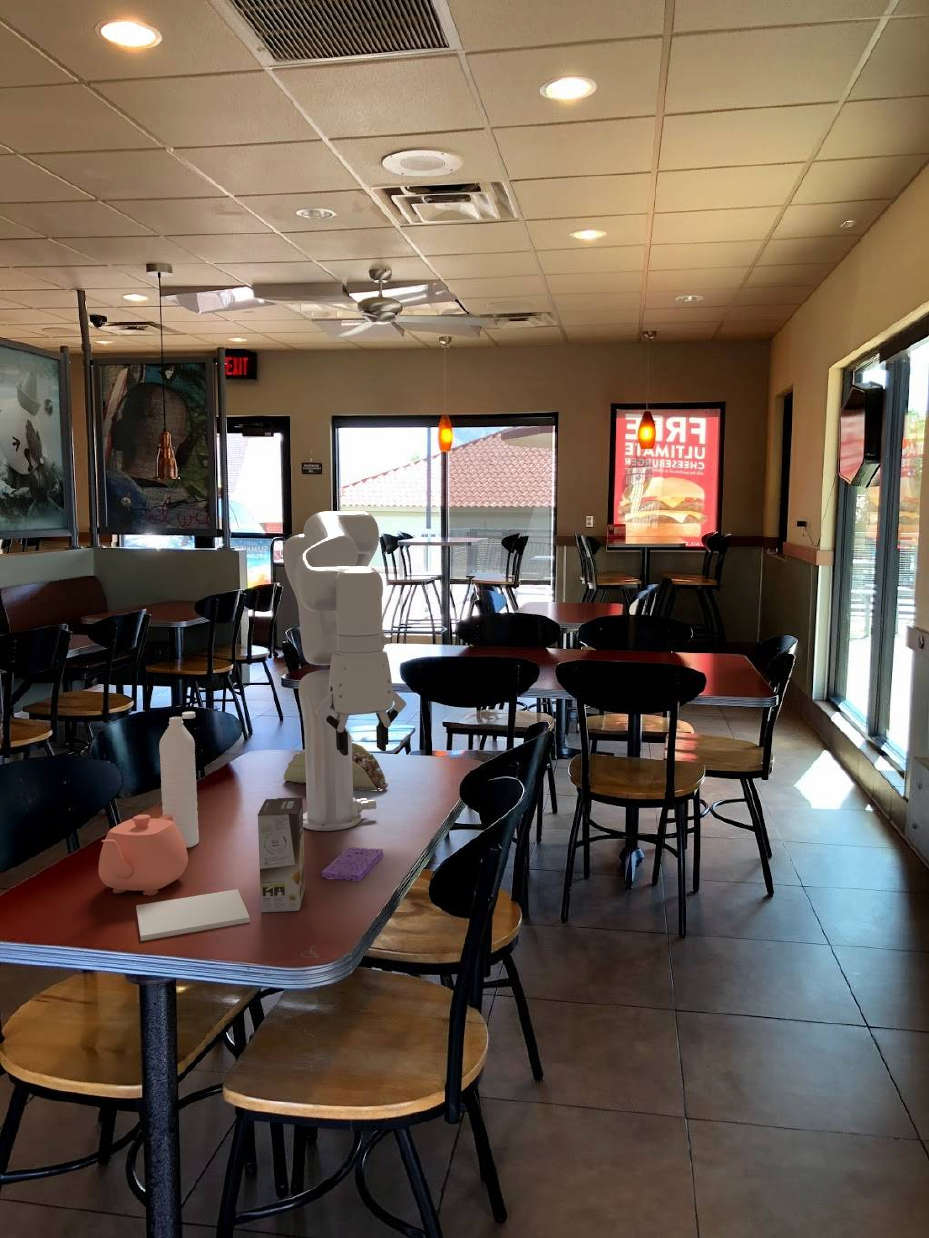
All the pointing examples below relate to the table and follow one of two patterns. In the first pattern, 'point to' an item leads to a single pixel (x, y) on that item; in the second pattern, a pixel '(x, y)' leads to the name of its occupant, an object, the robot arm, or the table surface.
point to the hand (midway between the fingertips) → (362, 750)
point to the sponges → (353, 863)
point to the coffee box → (281, 854)
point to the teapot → (143, 855)
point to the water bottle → (180, 778)
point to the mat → (191, 914)
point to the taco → (363, 768)
